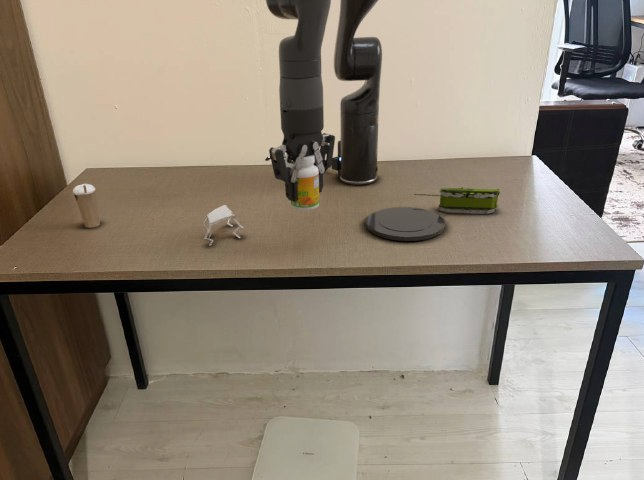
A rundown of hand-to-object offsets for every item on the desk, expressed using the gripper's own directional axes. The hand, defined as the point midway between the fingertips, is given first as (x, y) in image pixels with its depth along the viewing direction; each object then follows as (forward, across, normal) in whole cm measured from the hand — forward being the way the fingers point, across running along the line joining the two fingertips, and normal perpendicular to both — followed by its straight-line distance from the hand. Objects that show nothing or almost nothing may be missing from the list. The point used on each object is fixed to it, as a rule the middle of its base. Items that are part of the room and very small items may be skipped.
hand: (304, 195), depth 107 cm
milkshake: (+11, +26, -41) cm, 50 cm away
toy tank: (+11, -36, +8) cm, 38 cm away
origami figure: (+11, +8, -16) cm, 21 cm away
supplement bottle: (+2, 0, 0) cm, 2 cm away
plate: (+11, -21, +7) cm, 25 cm away
